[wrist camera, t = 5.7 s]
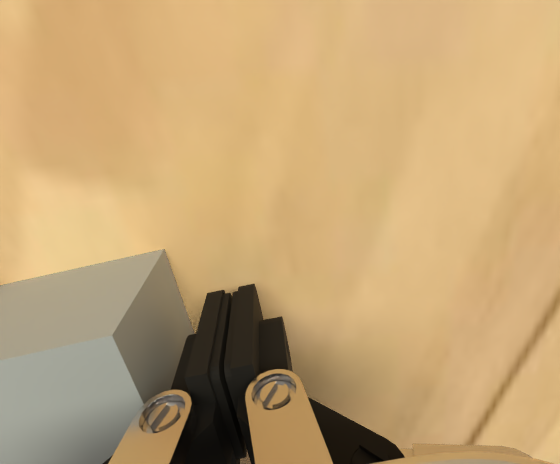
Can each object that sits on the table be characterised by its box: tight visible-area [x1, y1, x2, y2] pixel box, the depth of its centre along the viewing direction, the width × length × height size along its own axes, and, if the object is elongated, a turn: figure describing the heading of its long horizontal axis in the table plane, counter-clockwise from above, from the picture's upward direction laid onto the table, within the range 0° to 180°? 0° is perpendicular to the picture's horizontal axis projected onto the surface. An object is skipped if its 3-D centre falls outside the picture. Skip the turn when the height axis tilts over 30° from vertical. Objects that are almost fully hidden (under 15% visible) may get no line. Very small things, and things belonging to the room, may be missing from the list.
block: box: [0, 249, 194, 464], centre depth 11 cm, size 6×6×5 cm
